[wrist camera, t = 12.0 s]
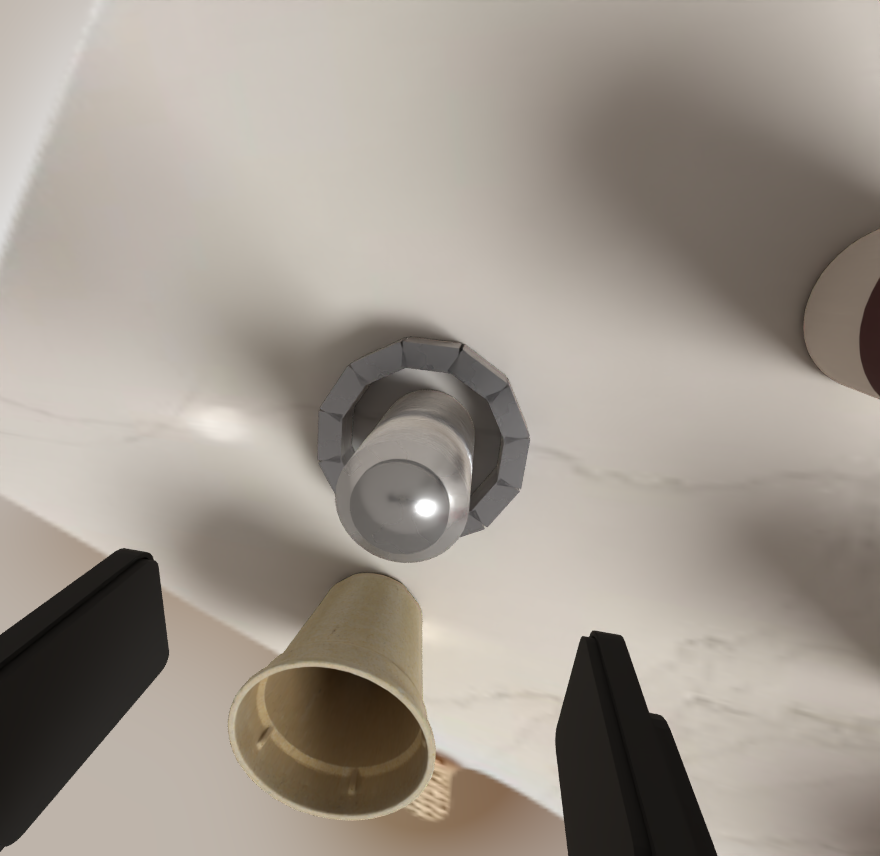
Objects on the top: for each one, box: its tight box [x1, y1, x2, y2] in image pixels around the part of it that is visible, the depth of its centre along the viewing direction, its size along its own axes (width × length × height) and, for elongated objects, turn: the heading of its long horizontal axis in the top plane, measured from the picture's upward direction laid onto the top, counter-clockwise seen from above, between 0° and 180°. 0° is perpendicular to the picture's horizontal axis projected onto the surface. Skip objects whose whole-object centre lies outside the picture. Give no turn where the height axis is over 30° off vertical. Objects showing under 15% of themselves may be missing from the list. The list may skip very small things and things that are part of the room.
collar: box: [318, 337, 530, 537], centre depth 23 cm, size 10×10×2 cm
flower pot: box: [228, 573, 436, 820], centre depth 24 cm, size 9×9×9 cm
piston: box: [335, 390, 475, 563], centre depth 20 cm, size 5×5×8 cm
